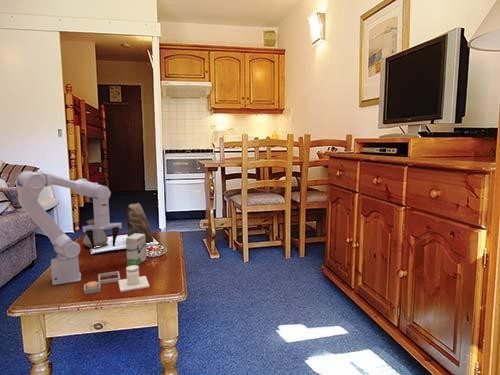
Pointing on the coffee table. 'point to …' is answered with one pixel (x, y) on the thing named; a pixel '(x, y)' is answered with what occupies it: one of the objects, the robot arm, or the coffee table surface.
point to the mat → (125, 287)
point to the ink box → (136, 249)
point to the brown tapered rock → (138, 222)
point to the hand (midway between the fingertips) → (103, 246)
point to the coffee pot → (95, 237)
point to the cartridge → (132, 274)
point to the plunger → (92, 284)
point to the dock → (102, 282)
